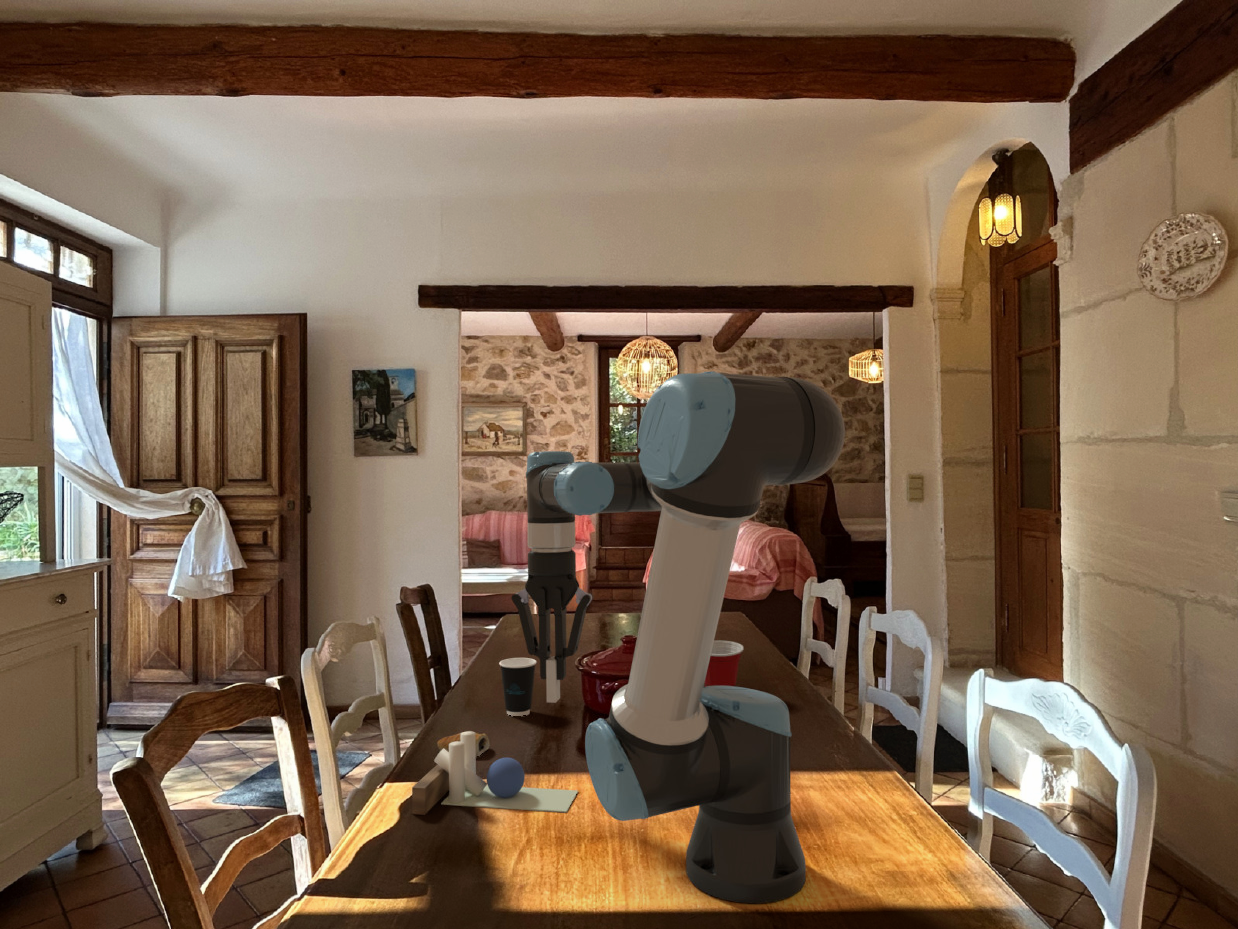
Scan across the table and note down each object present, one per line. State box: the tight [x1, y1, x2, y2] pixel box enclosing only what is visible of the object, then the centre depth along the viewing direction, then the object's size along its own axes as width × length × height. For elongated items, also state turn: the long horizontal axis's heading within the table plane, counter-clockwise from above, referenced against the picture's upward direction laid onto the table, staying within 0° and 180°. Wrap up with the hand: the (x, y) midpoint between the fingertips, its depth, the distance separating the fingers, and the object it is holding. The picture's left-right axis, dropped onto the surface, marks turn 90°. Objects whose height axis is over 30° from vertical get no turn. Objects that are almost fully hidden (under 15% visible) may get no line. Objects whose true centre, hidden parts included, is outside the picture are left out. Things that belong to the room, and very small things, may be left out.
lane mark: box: [441, 785, 579, 813], centre depth 128 cm, size 8×20×1 cm, turn 80°
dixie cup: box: [498, 657, 538, 717], centre depth 173 cm, size 8×8×11 cm
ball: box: [486, 757, 525, 798], centre depth 129 cm, size 6×6×6 cm
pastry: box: [436, 732, 490, 758], centre depth 150 cm, size 9×7×4 cm
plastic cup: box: [704, 640, 744, 687], centre depth 183 cm, size 11×11×12 cm
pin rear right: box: [448, 741, 465, 803], centre depth 127 cm, size 2×2×9 cm
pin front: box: [433, 748, 487, 797], centre depth 130 cm, size 2×2×9 cm
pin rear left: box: [460, 730, 477, 791], centre depth 132 cm, size 2×2×9 cm
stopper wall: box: [411, 763, 449, 816], centre depth 131 cm, size 16×2×4 cm, turn 170°
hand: (553, 700), depth 127 cm, fingers closed
